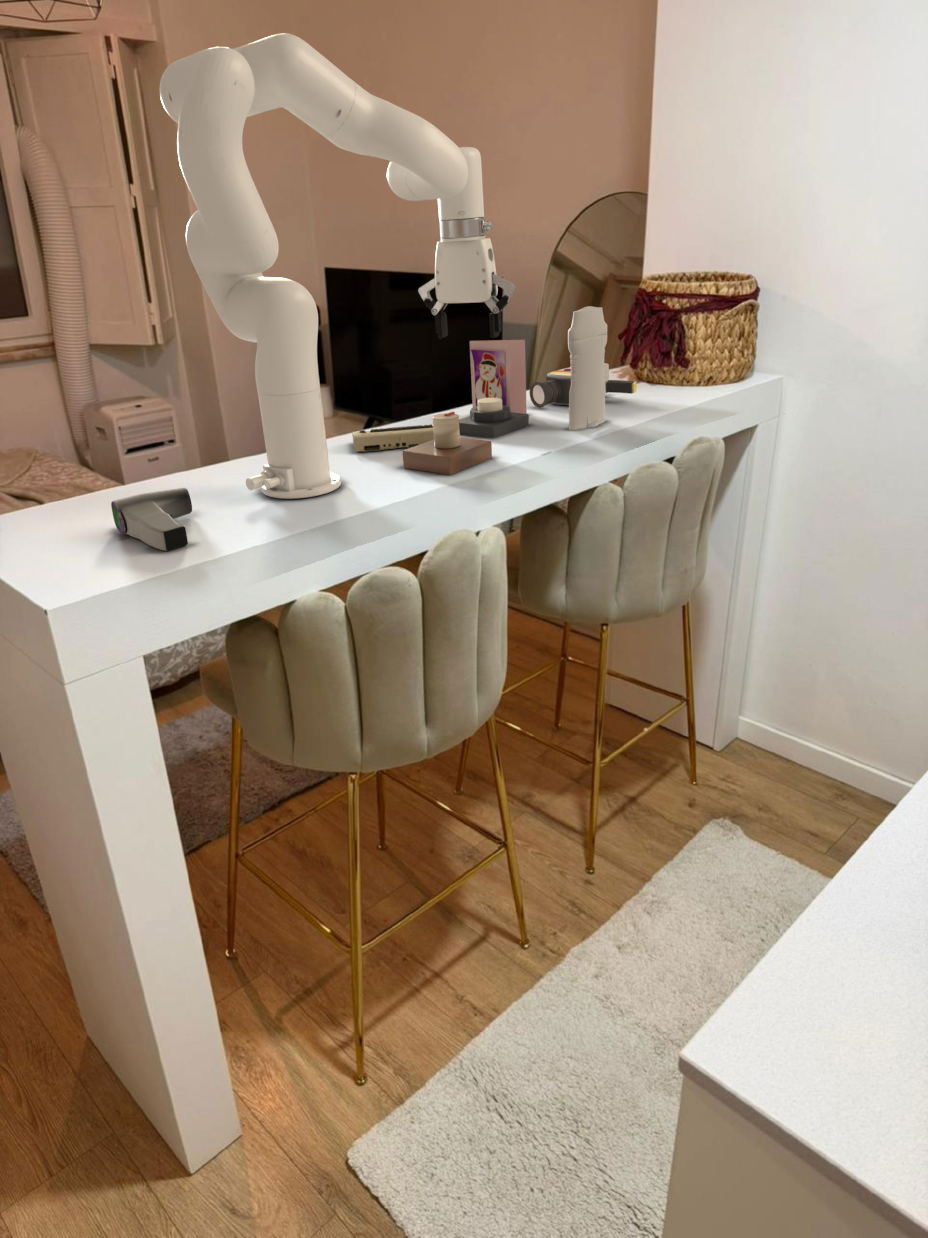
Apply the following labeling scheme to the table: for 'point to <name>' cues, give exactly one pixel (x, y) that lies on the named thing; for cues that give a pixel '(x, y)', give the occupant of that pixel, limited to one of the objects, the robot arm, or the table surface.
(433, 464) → the brown flat block
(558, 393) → the film camera
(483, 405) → the power button
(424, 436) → the computer
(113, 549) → the table surface
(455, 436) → the dial
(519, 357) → the greeting card
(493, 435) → the grey square plinth
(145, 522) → the infrared thermometer
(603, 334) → the tall pale column
